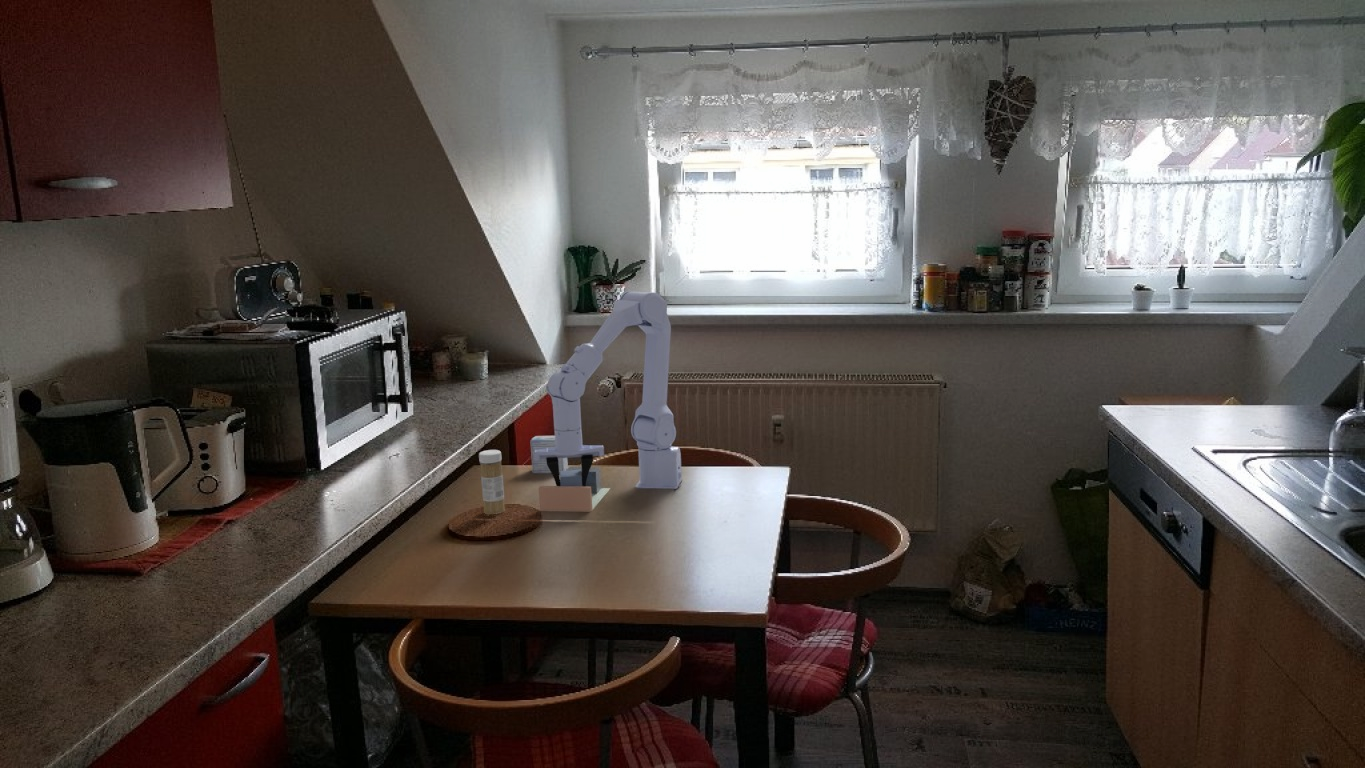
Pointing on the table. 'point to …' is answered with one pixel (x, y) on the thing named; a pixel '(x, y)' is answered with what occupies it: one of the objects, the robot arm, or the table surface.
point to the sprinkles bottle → (492, 481)
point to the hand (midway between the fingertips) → (571, 490)
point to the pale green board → (569, 498)
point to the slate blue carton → (571, 478)
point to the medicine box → (541, 465)
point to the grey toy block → (591, 478)
